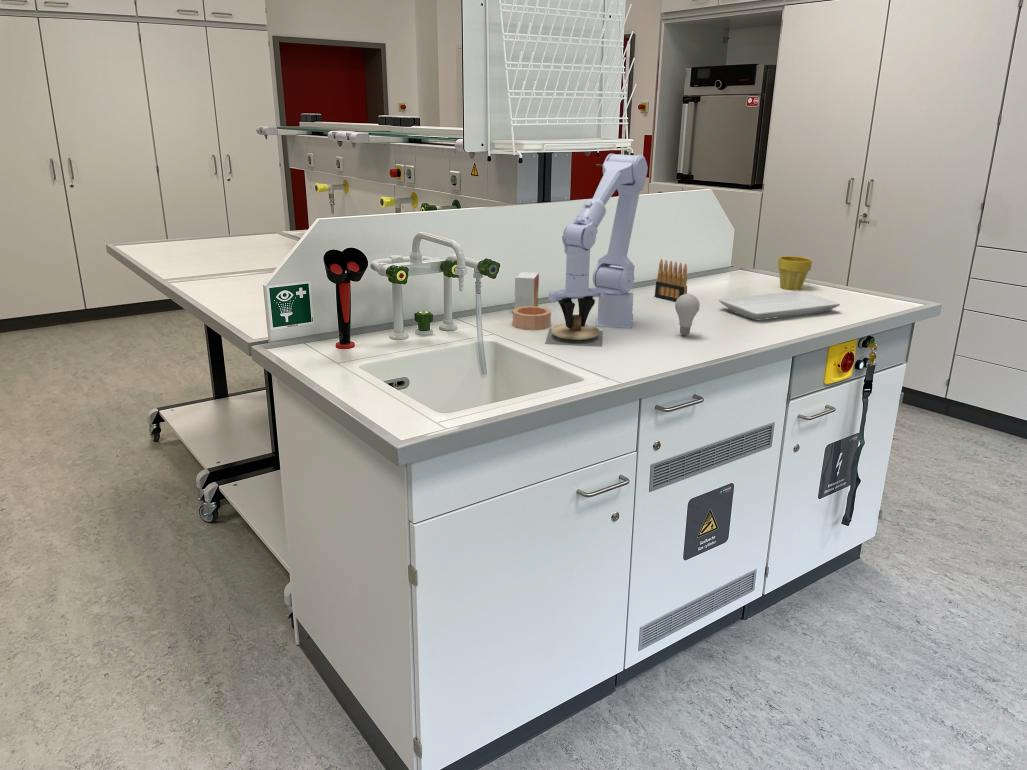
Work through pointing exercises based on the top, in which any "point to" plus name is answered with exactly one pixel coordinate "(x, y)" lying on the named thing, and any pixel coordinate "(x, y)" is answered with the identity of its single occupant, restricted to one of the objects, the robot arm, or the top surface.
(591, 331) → the lid
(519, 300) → the small box
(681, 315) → the lightbulb
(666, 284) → the ammunition clip
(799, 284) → the plant pot
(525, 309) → the bowl
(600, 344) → the mat
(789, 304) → the tray
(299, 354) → the top surface
